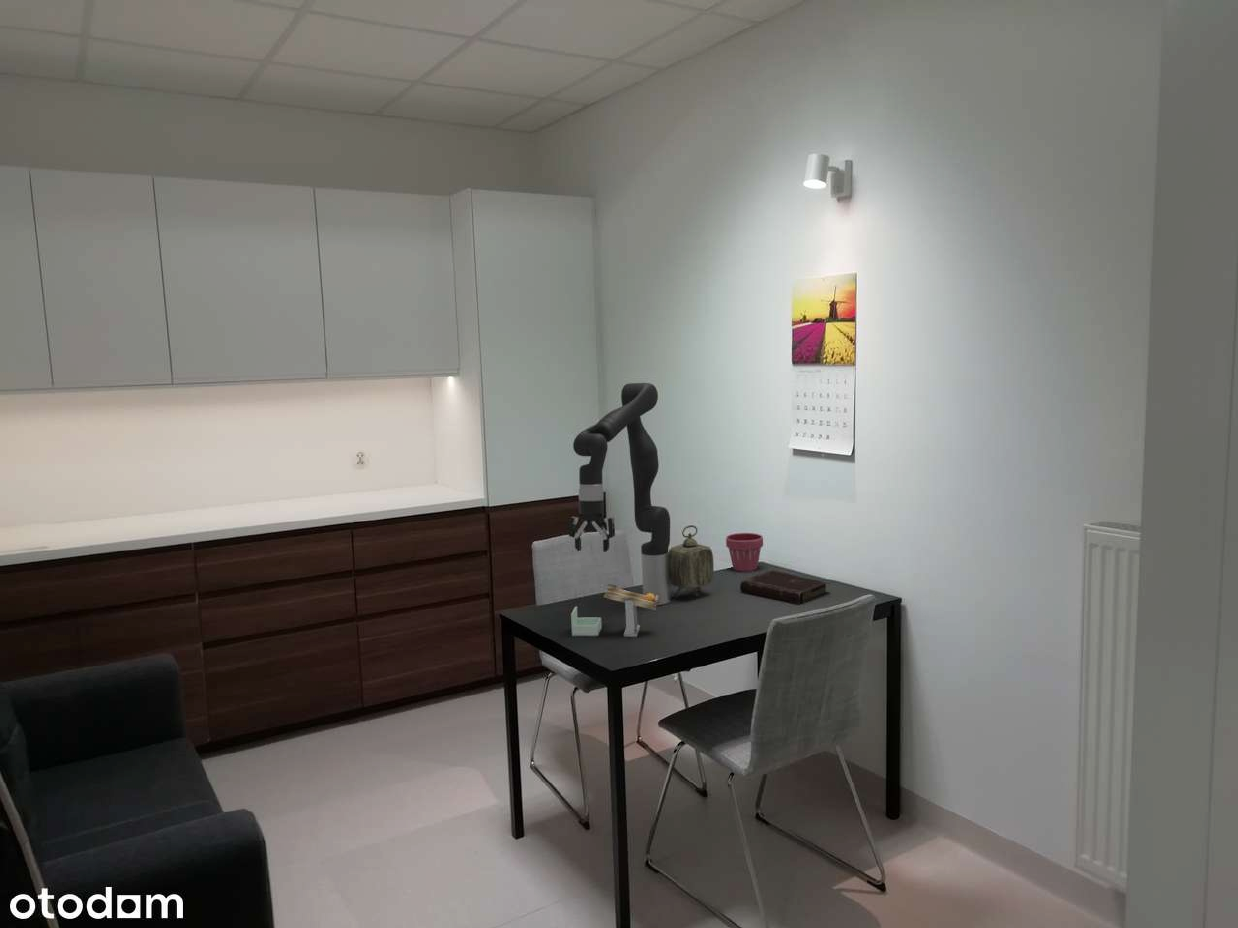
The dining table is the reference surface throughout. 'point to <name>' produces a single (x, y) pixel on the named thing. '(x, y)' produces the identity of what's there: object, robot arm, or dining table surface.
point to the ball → (650, 597)
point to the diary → (784, 587)
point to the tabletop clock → (690, 564)
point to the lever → (629, 597)
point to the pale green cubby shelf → (585, 625)
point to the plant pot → (744, 550)
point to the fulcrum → (631, 619)
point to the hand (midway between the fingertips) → (592, 550)
